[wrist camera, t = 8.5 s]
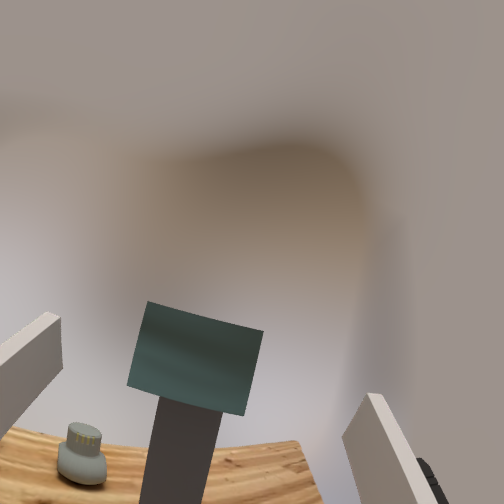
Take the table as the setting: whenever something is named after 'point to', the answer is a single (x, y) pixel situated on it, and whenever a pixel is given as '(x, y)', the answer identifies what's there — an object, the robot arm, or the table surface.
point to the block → (195, 359)
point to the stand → (179, 453)
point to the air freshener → (82, 455)
